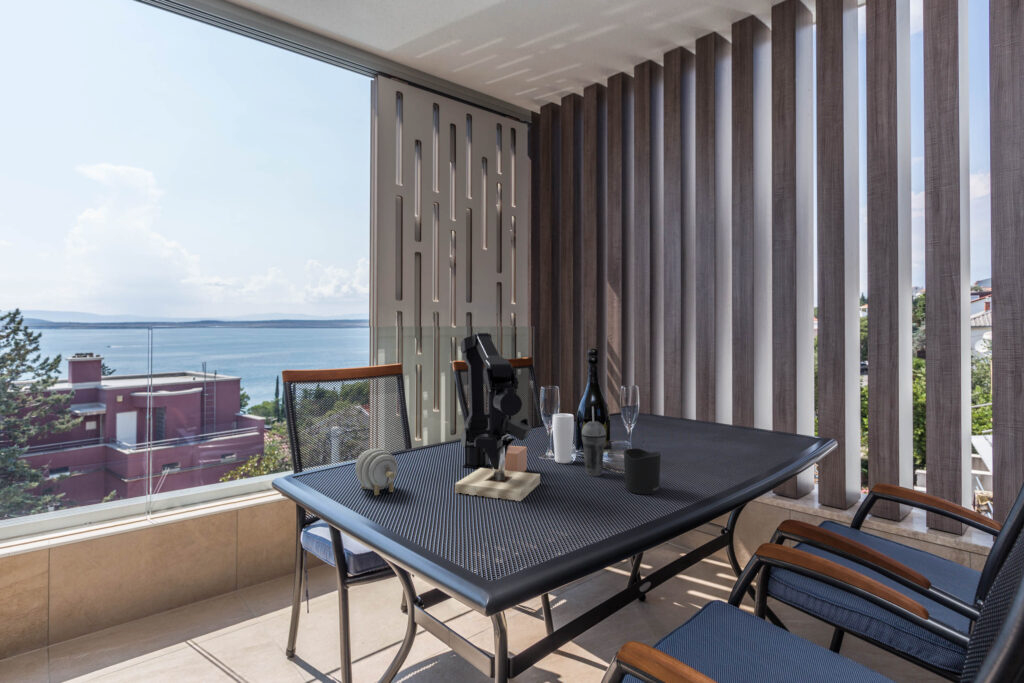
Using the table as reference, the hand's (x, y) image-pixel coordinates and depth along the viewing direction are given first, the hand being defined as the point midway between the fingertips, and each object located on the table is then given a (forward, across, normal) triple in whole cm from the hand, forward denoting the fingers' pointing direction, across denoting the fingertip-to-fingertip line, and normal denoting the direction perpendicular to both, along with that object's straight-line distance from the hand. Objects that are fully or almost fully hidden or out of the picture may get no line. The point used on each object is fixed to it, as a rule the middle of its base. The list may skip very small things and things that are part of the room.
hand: (498, 467), depth 140 cm
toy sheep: (+6, -14, +29) cm, 33 cm away
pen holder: (+6, +12, -36) cm, 38 cm away
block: (+6, +15, +2) cm, 16 cm away
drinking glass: (+6, +32, -9) cm, 34 cm away
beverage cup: (+6, +22, -21) cm, 31 cm away
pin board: (+5, 0, 0) cm, 5 cm away
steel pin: (+3, 0, 0) cm, 3 cm away
